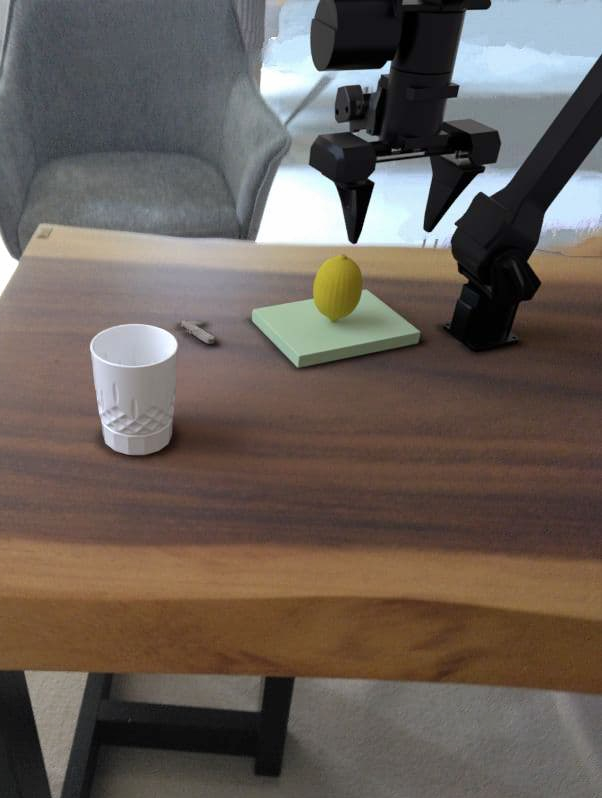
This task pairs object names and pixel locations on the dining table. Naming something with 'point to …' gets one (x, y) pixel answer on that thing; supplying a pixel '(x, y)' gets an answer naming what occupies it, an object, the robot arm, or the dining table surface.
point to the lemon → (337, 287)
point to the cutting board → (333, 330)
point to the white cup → (135, 386)
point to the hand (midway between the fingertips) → (390, 236)
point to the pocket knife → (197, 331)
